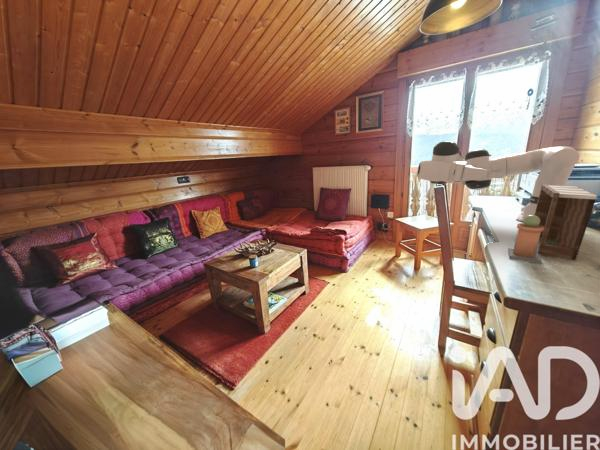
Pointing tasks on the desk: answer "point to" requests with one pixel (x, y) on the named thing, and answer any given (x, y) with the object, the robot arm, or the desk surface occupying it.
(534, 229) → the terracotta pot
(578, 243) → the slatted wooden crate
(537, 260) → the slate tile
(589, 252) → the desk surface
